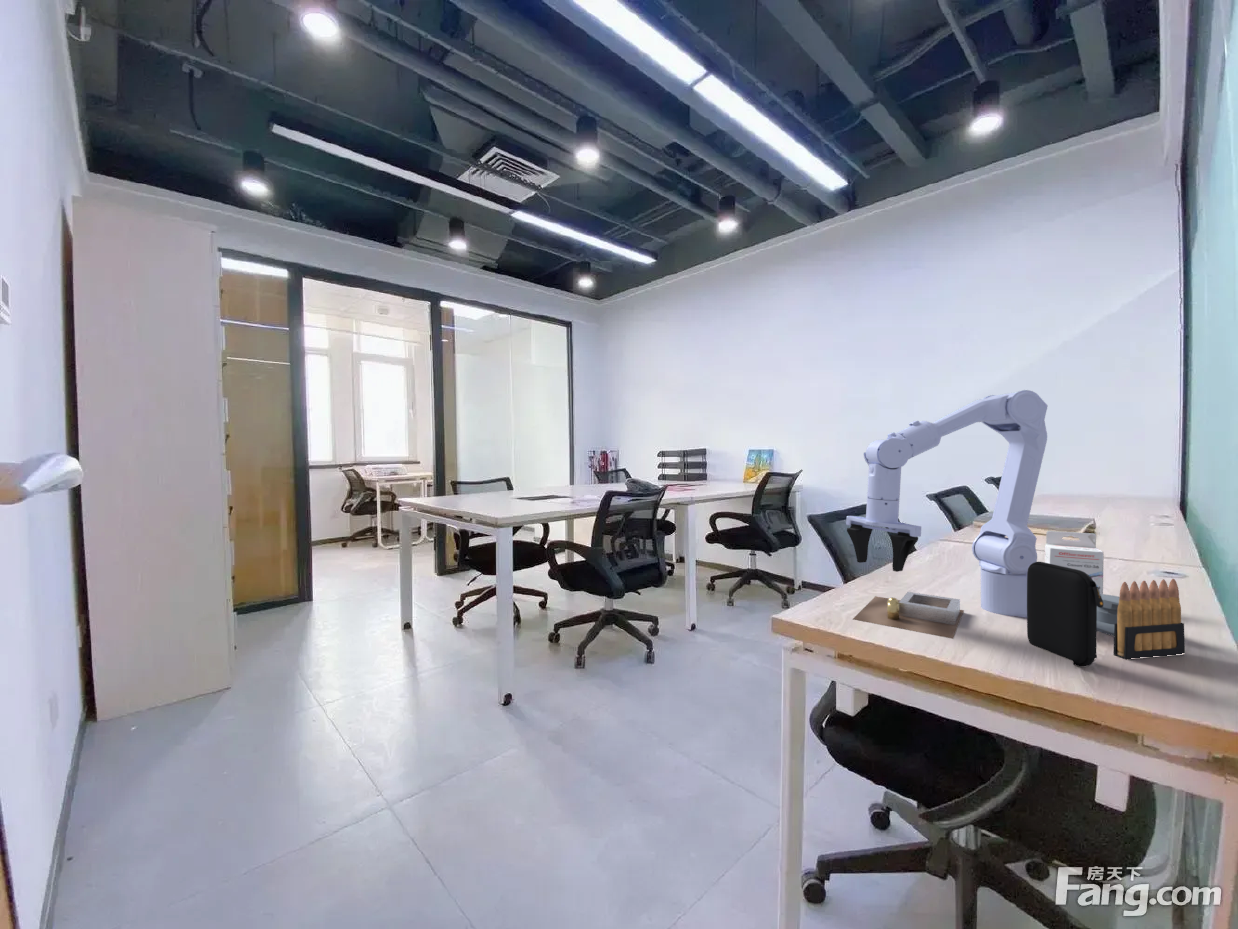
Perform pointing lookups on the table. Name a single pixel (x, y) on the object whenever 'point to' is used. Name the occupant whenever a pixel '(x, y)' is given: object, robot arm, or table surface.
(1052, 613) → the carrying case or bag
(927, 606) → the steel link
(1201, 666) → the table surface
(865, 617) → the board
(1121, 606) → the ammunition clip
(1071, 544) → the ink cartridge box
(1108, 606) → the shower valve
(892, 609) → the keeper post
